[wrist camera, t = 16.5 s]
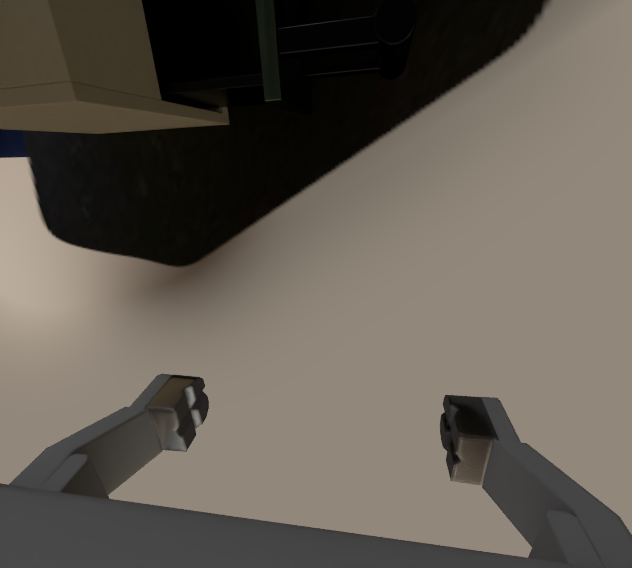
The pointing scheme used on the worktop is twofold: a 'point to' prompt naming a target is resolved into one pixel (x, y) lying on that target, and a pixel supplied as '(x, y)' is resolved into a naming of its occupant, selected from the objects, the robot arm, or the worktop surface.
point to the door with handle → (268, 49)
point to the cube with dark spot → (84, 70)
